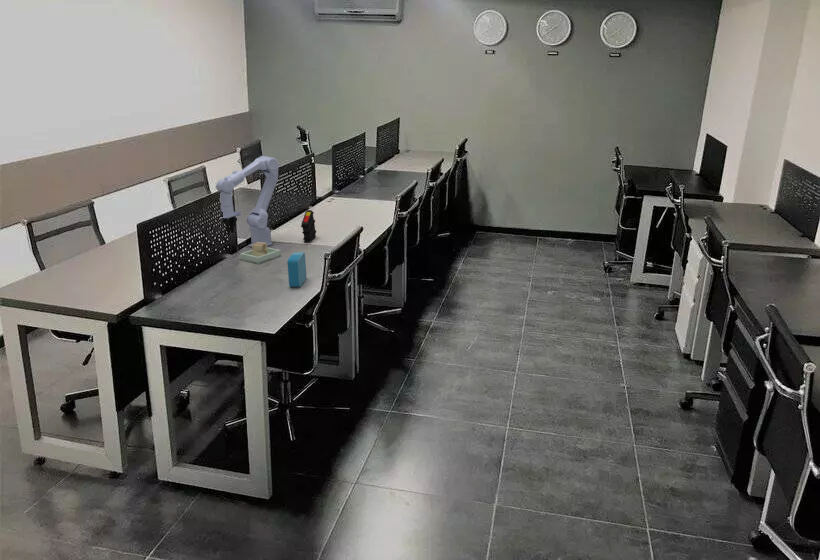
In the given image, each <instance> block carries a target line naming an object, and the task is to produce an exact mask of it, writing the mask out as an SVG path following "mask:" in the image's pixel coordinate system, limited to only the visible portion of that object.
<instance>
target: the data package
mask: <svg viewBox="0 0 820 560" xmlns="http://www.w3.org/2000/svg"><path fill="white" fill-rule="evenodd" d="M306 264H307V263H306V253H305V252H303V251H293V253H292V254H291V255H290V256H289V258H287V275H288V276H287V277H288V285H289V287H290V288H301V287H302V286H303V284H304V283H305V281H306V280H307V265H306Z"/></svg>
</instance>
